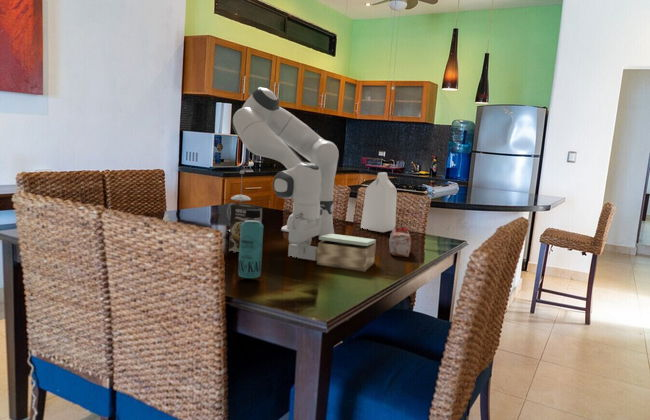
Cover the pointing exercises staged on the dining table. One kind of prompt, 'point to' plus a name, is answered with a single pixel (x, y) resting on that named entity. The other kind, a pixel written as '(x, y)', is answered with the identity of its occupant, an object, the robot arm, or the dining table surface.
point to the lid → (347, 239)
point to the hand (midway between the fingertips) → (303, 252)
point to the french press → (238, 197)
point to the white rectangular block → (308, 254)
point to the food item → (400, 242)
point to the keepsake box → (345, 255)
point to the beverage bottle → (250, 246)
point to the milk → (380, 205)
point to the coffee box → (239, 223)
